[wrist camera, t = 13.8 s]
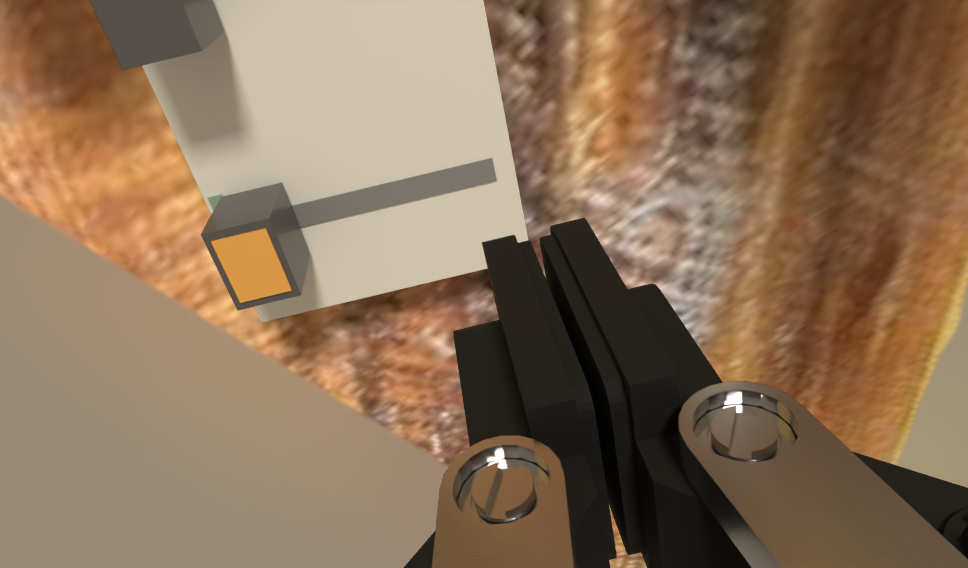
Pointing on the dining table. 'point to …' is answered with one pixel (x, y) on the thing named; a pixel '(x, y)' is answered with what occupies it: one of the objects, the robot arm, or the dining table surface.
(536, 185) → the dining table surface
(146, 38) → the breaker handle
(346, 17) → the panel
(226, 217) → the block
